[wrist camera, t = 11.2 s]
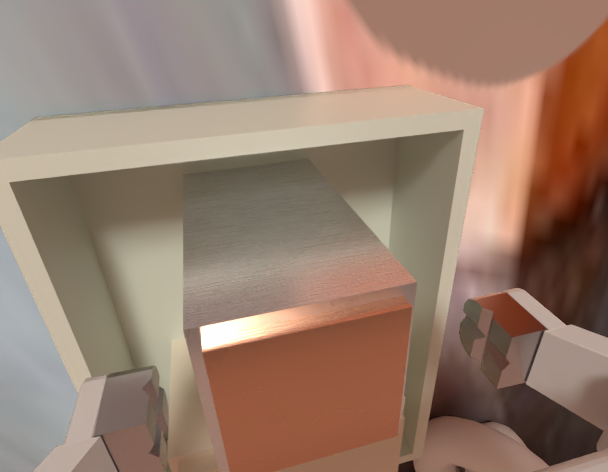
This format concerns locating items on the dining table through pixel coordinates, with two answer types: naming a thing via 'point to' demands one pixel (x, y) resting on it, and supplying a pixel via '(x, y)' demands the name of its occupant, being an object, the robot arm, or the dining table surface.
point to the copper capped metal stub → (290, 317)
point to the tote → (218, 156)
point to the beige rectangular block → (198, 447)
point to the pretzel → (474, 448)
